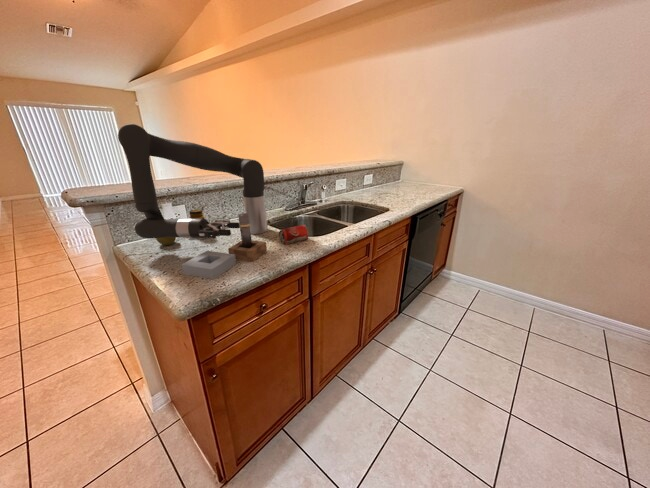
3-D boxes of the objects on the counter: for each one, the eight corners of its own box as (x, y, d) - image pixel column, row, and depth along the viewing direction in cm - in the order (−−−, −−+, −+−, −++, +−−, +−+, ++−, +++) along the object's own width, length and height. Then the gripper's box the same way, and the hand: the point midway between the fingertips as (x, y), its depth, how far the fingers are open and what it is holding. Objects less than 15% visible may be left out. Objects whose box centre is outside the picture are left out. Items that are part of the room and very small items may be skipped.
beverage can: (277, 242, 114) (276, 227, 111) (301, 236, 120) (301, 222, 117) (285, 247, 108) (284, 232, 106) (309, 241, 114) (309, 226, 112)
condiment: (209, 232, 126) (205, 208, 122) (206, 238, 118) (201, 212, 114) (193, 234, 124) (187, 209, 120) (189, 240, 117) (183, 214, 112)
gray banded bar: (247, 252, 103) (241, 212, 97) (255, 253, 102) (250, 213, 96) (241, 256, 100) (235, 215, 94) (250, 257, 99) (244, 216, 93)
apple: (173, 239, 118) (169, 224, 115) (181, 243, 113) (177, 227, 110) (154, 244, 112) (150, 228, 109) (162, 248, 107) (157, 232, 105)
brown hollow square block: (245, 248, 107) (243, 239, 105) (266, 251, 104) (265, 241, 102) (229, 258, 98) (228, 248, 97) (253, 261, 95) (251, 251, 94)
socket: (208, 259, 97) (207, 250, 96) (236, 263, 94) (235, 254, 93) (183, 274, 87) (181, 264, 85) (213, 279, 83) (211, 269, 82)
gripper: (179, 224, 90) (225, 225, 89) (200, 213, 104) (240, 214, 103) (184, 244, 93) (228, 245, 92) (203, 231, 106) (243, 232, 105)
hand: (235, 228), depth 97 cm, fingers open, 8 cm apart
